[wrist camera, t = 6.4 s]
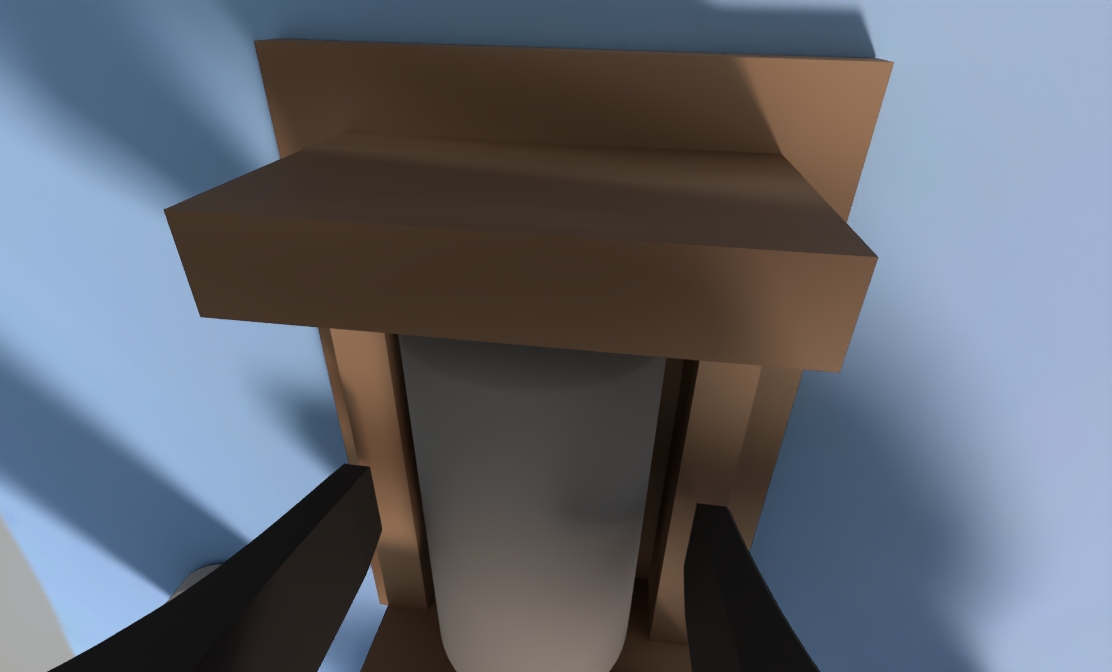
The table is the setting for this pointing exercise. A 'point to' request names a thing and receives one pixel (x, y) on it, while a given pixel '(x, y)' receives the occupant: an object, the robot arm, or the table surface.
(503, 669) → the roll
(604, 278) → the cradle
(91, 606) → the table surface
